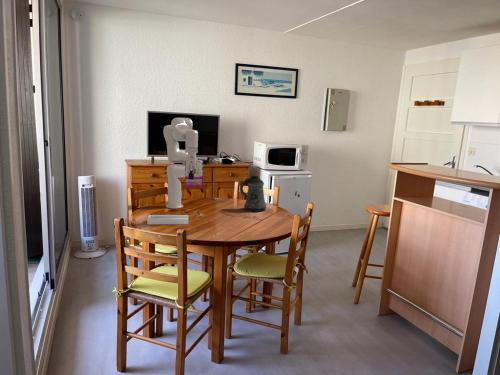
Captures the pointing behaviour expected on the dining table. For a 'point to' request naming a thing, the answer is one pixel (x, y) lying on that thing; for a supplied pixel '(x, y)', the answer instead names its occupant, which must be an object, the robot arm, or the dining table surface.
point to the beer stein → (254, 194)
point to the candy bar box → (197, 175)
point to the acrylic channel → (167, 219)
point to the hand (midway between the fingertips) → (191, 178)
